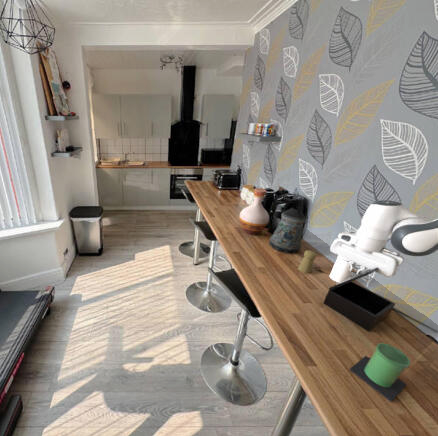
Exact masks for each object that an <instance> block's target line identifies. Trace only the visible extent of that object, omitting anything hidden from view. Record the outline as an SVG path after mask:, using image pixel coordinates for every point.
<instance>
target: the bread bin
mask: <svg viewBox="0 0 438 436" xmlns="http://www.w3.org/2000/svg"><path fill="white" fill-rule="evenodd" d="M323 304H324V305H325V306H327V307H328V308H330V309H332V310H333V311H334V312H336V313H338V314H340V315H341V316H342V317H344V318H346V319H347V320H349V321H350V322H352V323H354V324H355V325H357V326H358V327H360V328H362V329H364V330H365V331H367V332H370V331H371V330H374V328H375V327H377V326H378V325H379V324H380V323H382V322H383V321H384V320H386V319H387V318H389V316H390V314H391V312H392V311H393V309H394V307H395V306H396V303H395V302H394V301H392V300H389V299H388V298H386V297H384V296H382V295H380V294H378V293H376V292H374V291H372V290H370V289H369V288H366V287H364V286H363V285H360V284H359V283H356V282H355V281H351V282H349V283H346V284H344V285H341V286H339V287H336V288H334V289H331V290H330V289H328V291H327V293H326V295H325V298H324V299H323Z"/></svg>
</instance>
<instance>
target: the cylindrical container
mask: <svg viewBox="0 0 438 436" xmlns="http://www.w3.org/2000/svg"><path fill="white" fill-rule="evenodd" d="M353 231H354V232H357V230H353ZM349 262H350V260H348V259H346V258H344V257H342V256H339V255H337V257H336V260H335V262H334V264H333V266H332V269H331V271H330V273H329V278H330V279H331V280H332V281H334V282H336V283H340V282H342V281H343V280H345V279H347V278H350V277H352V273H353V272H351V271H350V268H351V267H350V263H349ZM354 264H355V267H356V265H358V264H357V263H354Z"/></svg>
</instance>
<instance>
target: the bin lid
mask: <svg viewBox="0 0 438 436" xmlns="http://www.w3.org/2000/svg"><path fill="white" fill-rule="evenodd" d="M377 270H379V269H378V268H374V269H372V270H371V269H367V270H366V269H365V270H364V271H361V272H360V274H358V275H357V274H355V275H351V276H350V278H347V279H345V280H343V281H342V282H340V283H339V282H337V283H336V284H334V285H332V286H330V287H328V290H331V289H334V288H336V287H339V286H341V285H344V284H346V283H349V282H351V281H352V282H355V281H356V280H359V279H361V278H364V277H367V276H369V275H371V274H373V273H376V272H375V271H377Z"/></svg>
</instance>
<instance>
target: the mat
mask: <svg viewBox="0 0 438 436" xmlns="http://www.w3.org/2000/svg"><path fill="white" fill-rule="evenodd" d="M370 358H371V357H368V356H367V355H364V356H363V357H362V358H361V359H359V361H357V362H356V363H355V364H354V365H352V366H351V367H350V368H349V371H351V372H352V373H353V374H354V375H355V376H357V377H358V378H359V379H360V380H362V382H365V383H366V384H367V385H368V386H369V387H371V388H372V389H373V390H375V391H376V392H377V393H379V395H381V396H382V397H384V398H385V399H386V400H388V401H389V402H390V403H392V402H393V401H394V400H395V399H396V397H398V395H399V394H400V393H401V392H402V390H404V389H405V387H406V386H407V383H406V382H404V381H402V380H401V379H400V378H398V379H397V380H396V381H395V383H394V384H393V386H392V387H390V388H386V387H382V386H380V385H378V384H376V383H375V382H373V381H372V380H371V379H370V378H369V377H368V376H367V375H366V373H365V371H364V368H365V366H366V365H367V363H368V362H369V360H370Z"/></svg>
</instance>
